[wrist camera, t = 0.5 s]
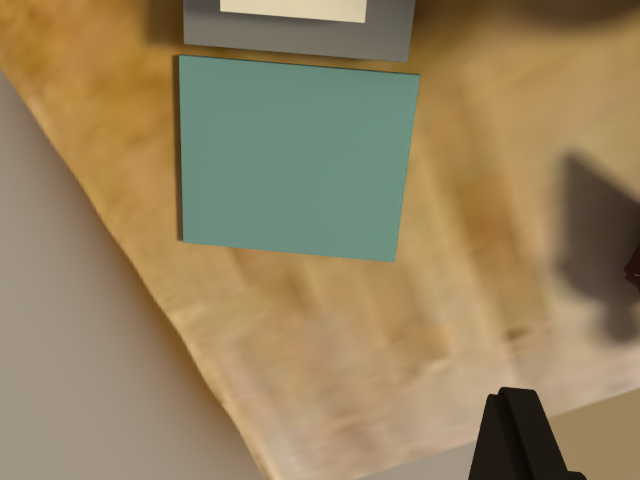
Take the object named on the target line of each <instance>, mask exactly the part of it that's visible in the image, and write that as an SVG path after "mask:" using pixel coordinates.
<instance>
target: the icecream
mask: <svg viewBox="0 0 640 480" xmlns="http://www.w3.org/2000/svg"><path fill="white" fill-rule="evenodd" d="M624 271H625V272H626V276H625V279H627V280H628V281H630V282H631V283H633V284H635V285H636V286H637V287H638V289H639V291H640V244H639V245H638V246H637V247H636V249H635V251H634V253H633V256H632V258H631V260H630V261H629V262H628V263H627V264H626V266H625V267H624Z"/></svg>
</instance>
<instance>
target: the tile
mask: <svg viewBox="0 0 640 480" xmlns="http://www.w3.org/2000/svg"><path fill="white" fill-rule="evenodd" d="M366 3H367V0H220V11H224V12H236V13H249V14H261V15H273V16H285V17H297V18H310V19H322V20H334V21H346V22H359V23H365V14H366Z"/></svg>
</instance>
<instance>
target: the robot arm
mask: <svg viewBox="0 0 640 480" xmlns="http://www.w3.org/2000/svg"><path fill="white" fill-rule="evenodd" d="M468 480H587V479H586V477H585V476H584V475H583V474H582V473H580V472H573V471H568V470H567V468H566V465H565V463H564V460H563V458H562V455H561V452H560V450H559V447H558V445H557V443H556V440H555V438H554V435H553V432H552V430H551V427H550V425H549V422H548V420H547V417H546V415H545V412H544V410H543V407H542V405H541V402H540V400H539V397H538V395H537V393H536V391H534V390H530V389H520V388H509V387H501V388H500V390H499V392H498V395H495V394H489V395H488V397H487V400H486V405H485V409H484V413H483V418H482V422H481V426H480V431H479V435H478V439H477V444H476V448H475V452H474V457H473V461H472V465H471V469H470V474H469V478H468Z"/></svg>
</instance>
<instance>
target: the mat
mask: <svg viewBox="0 0 640 480" xmlns="http://www.w3.org/2000/svg"><path fill="white" fill-rule="evenodd" d="M179 79H180V122H181V164H182V207H183V243H194V244H204V245H215V246H226V247H236V248H247V249H258V250H269V251H279V252H290V253H301V254H311V255H322V256H333V257H343V258H354V259H365V260H375V261H386V262H394V261H395V254H396V247H397V240H398V232H399V225H400V218H401V210H402V203H403V196H404V188H405V181H406V174H407V167H408V159H409V152H410V145H411V137H412V130H413V123H414V116H415V108H416V101H417V94H418V86H419V79H420V75H419V74H409V73H398V72H386V71H374V70H362V69H350V68H338V67H326V66H314V65H302V64H291V63H279V62H267V61H255V60H243V59H231V58H219V57H207V56H196V55H184V54H181V55H179Z"/></svg>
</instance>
